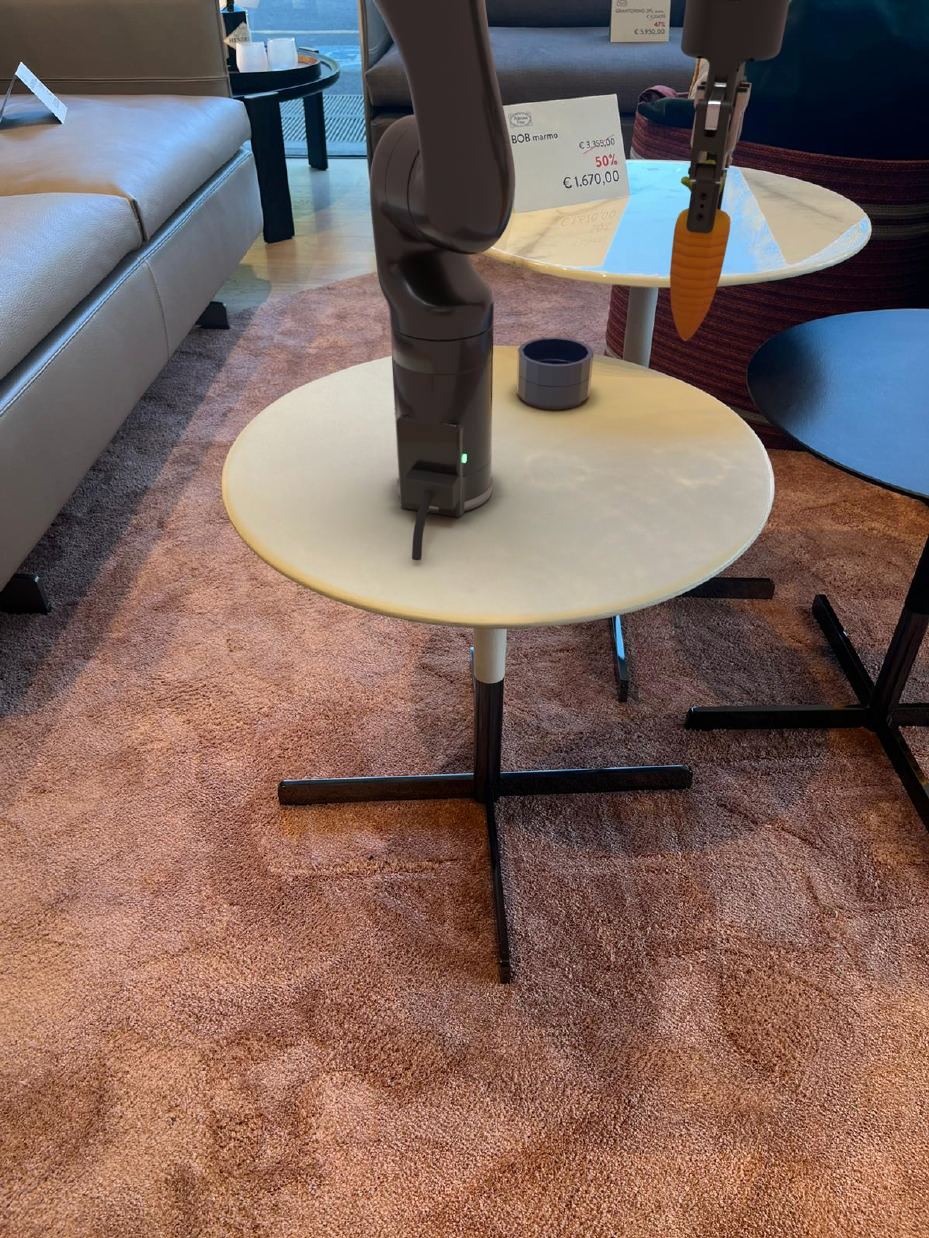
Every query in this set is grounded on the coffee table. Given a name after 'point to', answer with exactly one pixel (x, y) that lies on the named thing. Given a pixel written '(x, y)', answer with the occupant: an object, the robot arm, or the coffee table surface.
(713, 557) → the coffee table surface
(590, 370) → the cylindrical container
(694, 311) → the carrot
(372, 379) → the coffee table surface
